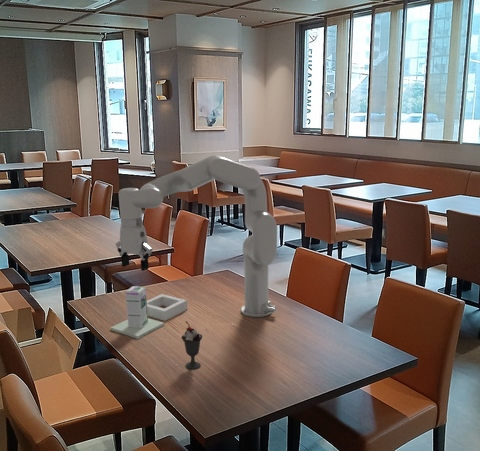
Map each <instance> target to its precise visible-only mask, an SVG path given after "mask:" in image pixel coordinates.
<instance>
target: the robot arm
mask: <svg viewBox="0 0 480 451" xmlns="http://www.w3.org/2000/svg"><path fill="white" fill-rule="evenodd" d="M213 181H217V182H220V183H223V184H226V185H229V186H232V187H235V188H238V189H241V190H242V192H243V195H244V196H243V197H244V225H245V228H246V229H247V230H248V231H250V233H252V234H251V235H249V236H247V237H246V238H245V239H244V241H243V245H242V257H243V262H244V263H243V264H244V269H243V270H244V305H242V307H241V308H240V312H241V314H243V315H244V316H246V317H251V318H263V317H267V316H270V315H271V314H273V313H274V314H275V313H276V312H277V306H276V305H272V304H271V300H269V265H272V264H273V262H274V261H276V260H275V259H276V257H277V253H278V225H277V221H276V220H275V217H274V216H273V215H272V214H270V212H268V197H267V195H268V194H267V190H266V186H265V184H264V181H263V179H262V178H261V175H260V173H259V171H258V170H257V169H255V168H254V167H251V166H249V165H245V164H244V163H239V162H237V161H233V160H231V159H229V158H226V157H223V156H220V155H218V154H217V155H214V154H213V155H210V156H208V157H206V158H203V159H202V160H200V161H199V160H198V161H197V162H195V163H193V164H191V165H188V166H186V167H184V168H182V169H179V170H176V171H173V172H171V173H168V174H165V175H163V176H160V177H158V178H155V179H153V180H151V181H149V182H147V183H145V184H144V185H142V186H141V187H140V189H139V188H136V187H127V188H126V187H124V188H121V189H119V191H118V201H119V202H118V203H119V204H118V205H119V215H120V230H119V241H116V243H115V246H116V248H117V251H118V253H119V256H120V258H121V267H122V268H124V267H127V266H129V265H130V255H129V254H132V255H138V256H139V257H140V270H141V271H143V272H144V271H146V270H149V268H150V266H149V259H150V257H151V255H152V252H153V248H152V247H151V246H150V245H149V243H148V235H147V231H146V227H145V225H143V224H144V221H143V215H142V212H143V211H142V209H156V208H158V207H160V206H161V205H162V203H163V201H164V197H167V196H170V195H172V194H176V193H181V192H182V193H183V192H184V193H186V192H192V191H194V190H196V189H198V188H199V187H201V186H204V185H206V184H208V183H210V182H213Z"/></svg>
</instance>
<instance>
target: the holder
mask: <svg viewBox="0 0 480 451" xmlns="http://www.w3.org/2000/svg"><path fill="white" fill-rule="evenodd" d="M146 301H147V315H148V317H150V318H152V319H153V318H154V319H158V320H159V321H160V320H161V321H163V322H164V321H165V322H166V321H168V320H170V319H171V318H174V317H175V316H177V315H179V314H181V313H184V312H185V311H187V310H188V300H187V299H183V298H178V297H175V296H171V295H168V294H163V293H161V294H159V295H156V296H154V297H152V298H150V299H147V300H146ZM162 306H164V307H165V308H163V307H162Z"/></svg>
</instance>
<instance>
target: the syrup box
mask: <svg viewBox="0 0 480 451" xmlns="http://www.w3.org/2000/svg"><path fill="white" fill-rule="evenodd" d="M125 300H126V301H125V303H126V314H127V320H128V327H131V328H143V327H144V326H145V325H146V324H147V323H148V318H149V316H148V315H147V301H148V300H147V290H146V287H145V286H141V285H140V286H139V285H138V286H137V285H136V286H134V285H133V286H131V287H130V288H128V289H127V290H125Z"/></svg>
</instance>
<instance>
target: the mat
mask: <svg viewBox="0 0 480 451" xmlns="http://www.w3.org/2000/svg"><path fill="white" fill-rule="evenodd" d="M164 325H165V323H164V321H163V322H162V321H160V320H156V319H153V318H151V317H150V318H149V317H148V323H147V324H146V325H145V326H144V327H143V328H131V327H128V319H126V320H123V321H121V322H120V323H118V324H115V325H113V326H111V327H110V330H111V331H113V332H116V333H118V334H123V335H126V336H128V337H132V338H135V339H137V340H139V339H141V338H143V337H144V336H146V335H148V334H151V333H152V332H154V331H156V330H158V329H159V328H161V327H164Z"/></svg>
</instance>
